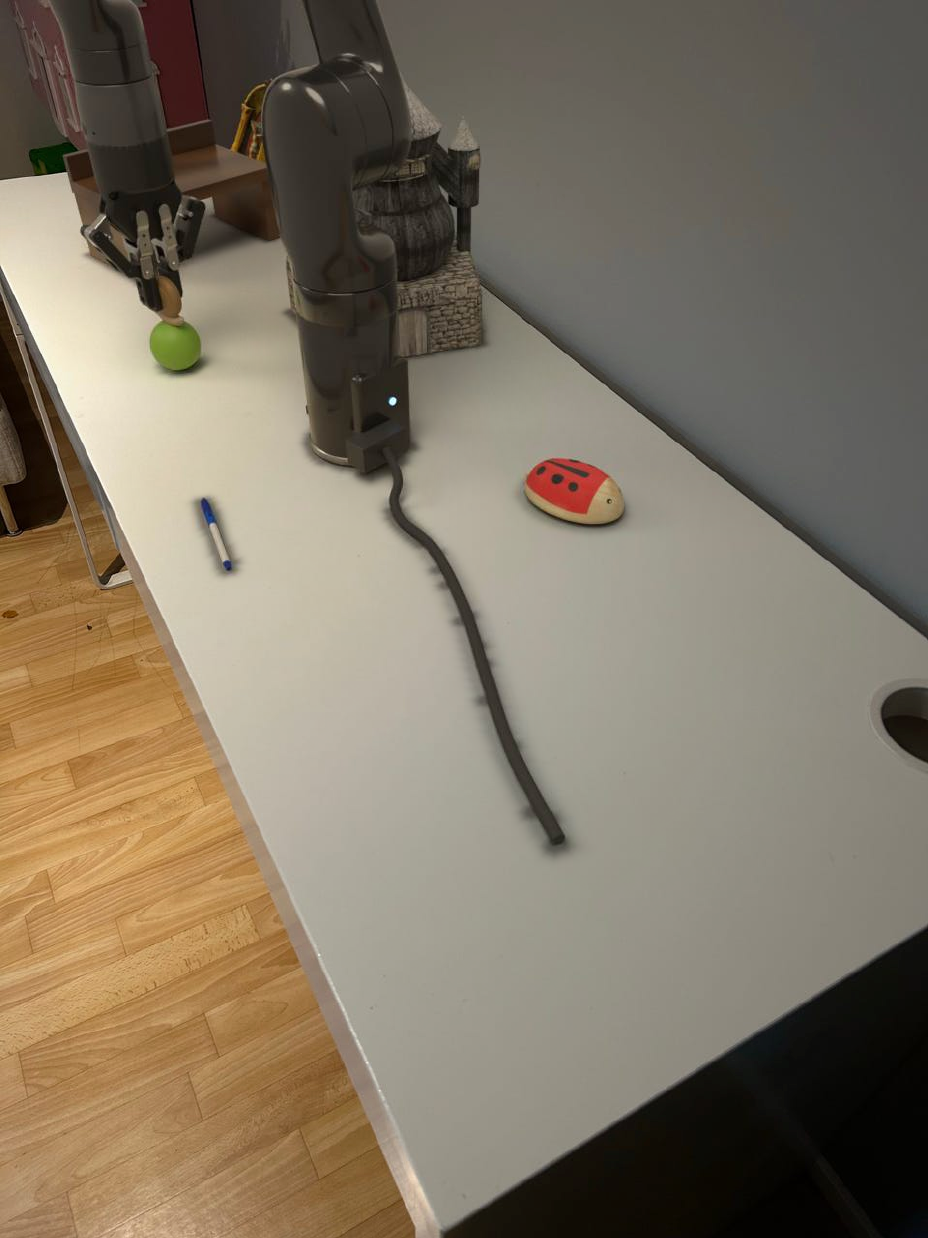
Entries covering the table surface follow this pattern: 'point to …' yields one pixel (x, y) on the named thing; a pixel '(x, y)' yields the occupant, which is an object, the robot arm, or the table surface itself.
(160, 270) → the robot arm
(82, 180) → the miniature wooden bench
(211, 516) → the ballpoint pen
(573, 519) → the ladybug figurine
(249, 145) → the shrine
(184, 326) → the snail figurine
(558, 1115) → the table surface
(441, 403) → the table surface
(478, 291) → the miniature castle
